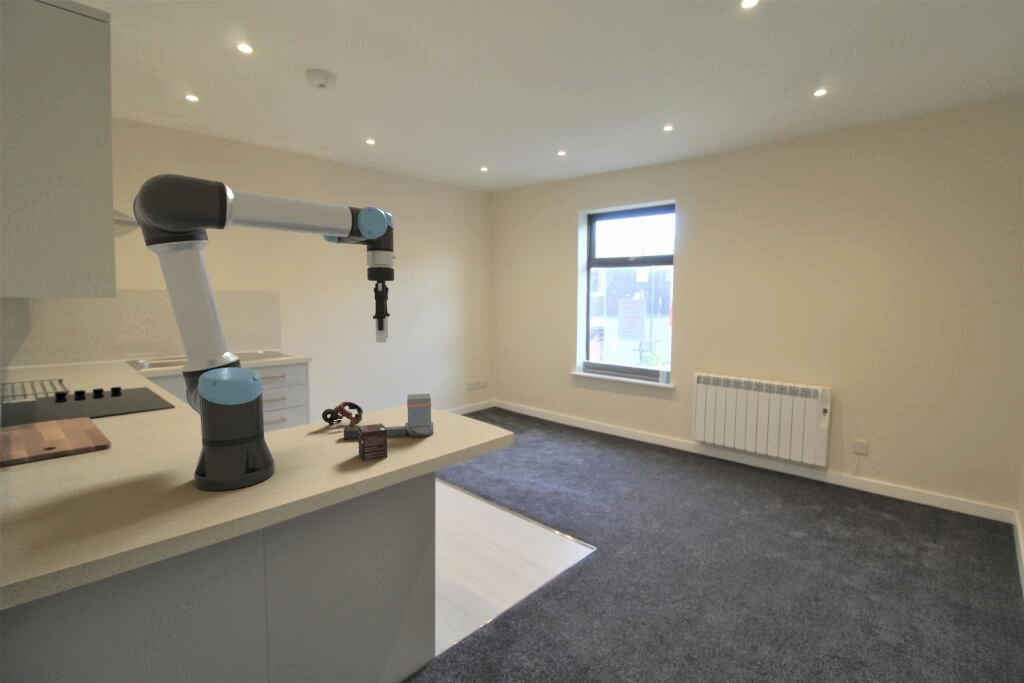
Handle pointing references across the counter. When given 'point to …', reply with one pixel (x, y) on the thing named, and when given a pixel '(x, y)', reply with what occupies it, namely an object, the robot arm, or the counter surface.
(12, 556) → the counter surface
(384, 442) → the box
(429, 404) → the orange-striped grey cube
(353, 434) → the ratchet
